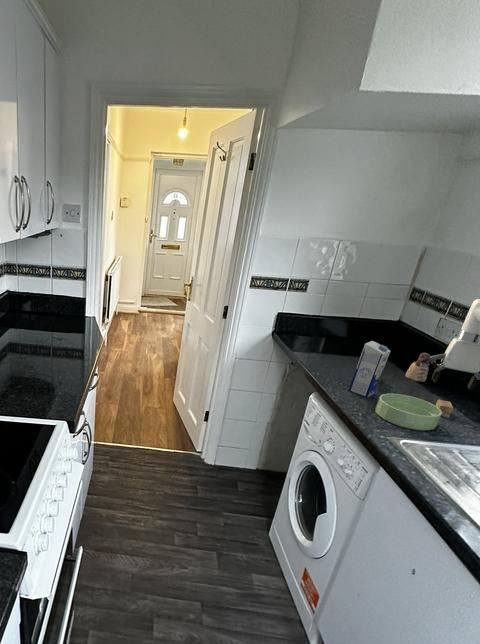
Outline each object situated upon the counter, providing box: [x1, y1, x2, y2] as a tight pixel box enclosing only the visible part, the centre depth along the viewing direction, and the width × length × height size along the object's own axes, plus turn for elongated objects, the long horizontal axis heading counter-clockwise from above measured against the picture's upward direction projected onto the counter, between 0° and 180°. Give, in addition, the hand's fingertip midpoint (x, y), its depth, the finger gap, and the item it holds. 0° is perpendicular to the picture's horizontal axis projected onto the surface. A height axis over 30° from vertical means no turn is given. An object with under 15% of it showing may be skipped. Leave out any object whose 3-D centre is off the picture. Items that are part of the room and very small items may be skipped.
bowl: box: [374, 393, 442, 431], centre depth 139 cm, size 17×17×6 cm
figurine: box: [405, 352, 431, 383], centre depth 173 cm, size 7×7×12 cm
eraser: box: [435, 399, 454, 419], centre depth 145 cm, size 4×6×4 cm, turn 149°
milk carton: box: [347, 340, 391, 399], centre depth 154 cm, size 7×7×20 cm
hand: (451, 384), depth 142 cm, fingers open, 9 cm apart
